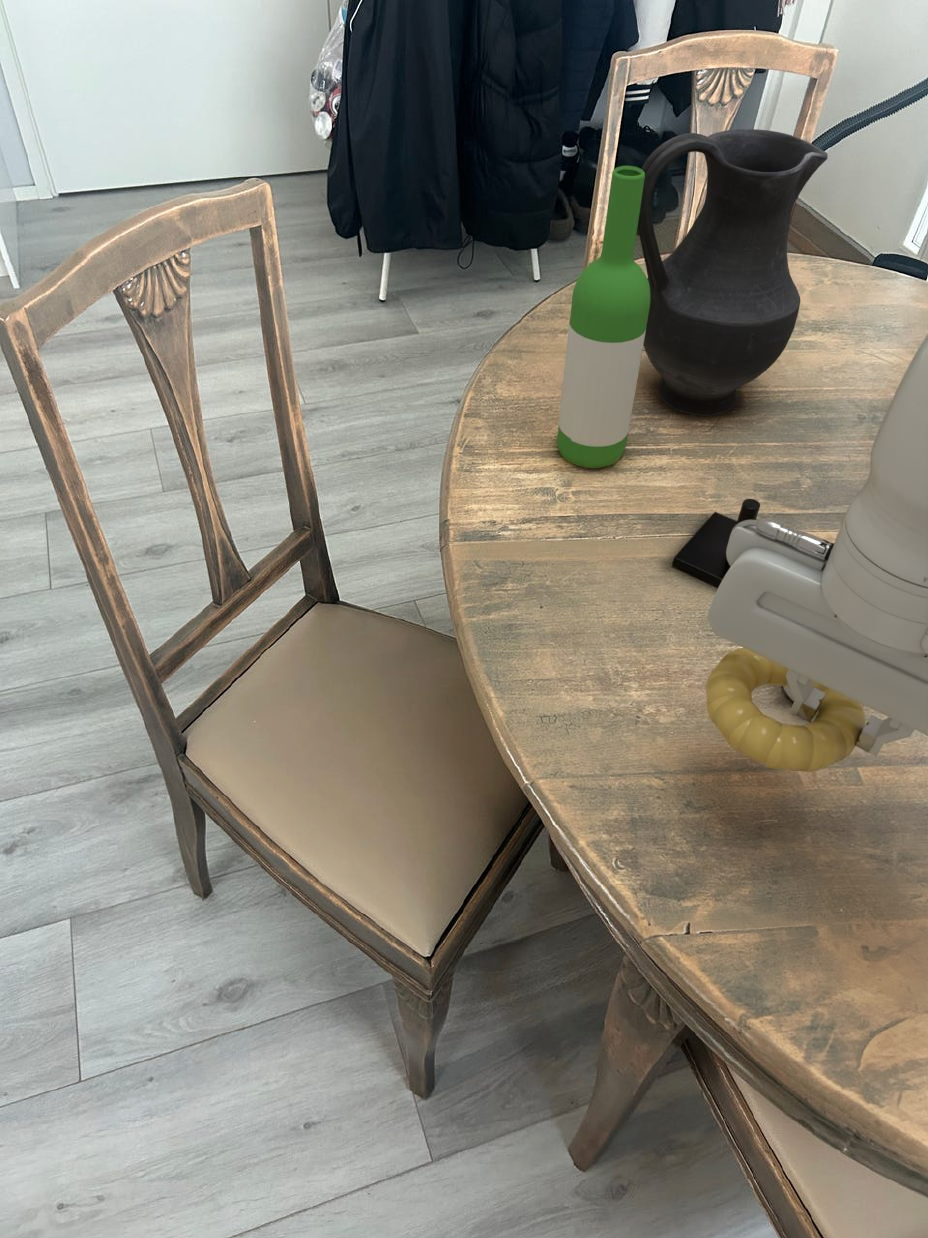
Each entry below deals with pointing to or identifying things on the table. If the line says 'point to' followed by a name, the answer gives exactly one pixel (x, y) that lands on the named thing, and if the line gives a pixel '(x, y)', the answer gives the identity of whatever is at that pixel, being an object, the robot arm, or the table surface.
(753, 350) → the pitcher
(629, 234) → the bottle
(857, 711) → the ring doughnut
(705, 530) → the post
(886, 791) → the table surface
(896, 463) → the robot arm
